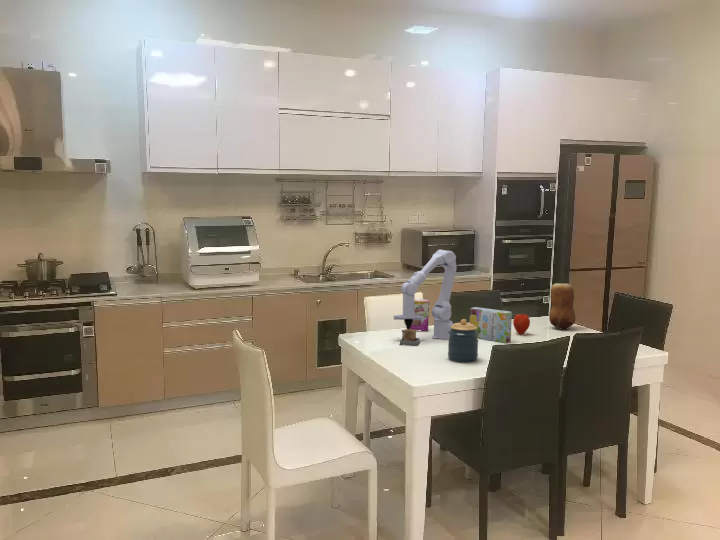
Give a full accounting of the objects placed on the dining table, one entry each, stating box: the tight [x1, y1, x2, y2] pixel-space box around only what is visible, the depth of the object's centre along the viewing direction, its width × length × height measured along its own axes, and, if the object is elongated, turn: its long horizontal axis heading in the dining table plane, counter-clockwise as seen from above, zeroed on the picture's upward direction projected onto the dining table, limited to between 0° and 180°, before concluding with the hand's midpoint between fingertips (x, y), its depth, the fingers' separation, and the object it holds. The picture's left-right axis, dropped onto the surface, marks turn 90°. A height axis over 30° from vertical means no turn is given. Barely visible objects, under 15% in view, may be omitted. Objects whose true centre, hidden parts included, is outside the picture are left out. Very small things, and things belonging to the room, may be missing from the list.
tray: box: [399, 337, 421, 347], centre depth 295 cm, size 8×8×2 cm
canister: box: [447, 318, 479, 363], centre depth 266 cm, size 13×13×18 cm
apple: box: [512, 313, 531, 335], centre depth 317 cm, size 9×8×11 cm
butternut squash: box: [548, 282, 576, 330], centre depth 331 cm, size 14×13×25 cm
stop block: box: [403, 328, 417, 341], centre depth 295 cm, size 5×4×6 cm
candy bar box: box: [410, 298, 430, 332], centre depth 325 cm, size 11×5×16 cm, turn 84°
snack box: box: [469, 306, 513, 344], centre depth 305 cm, size 21×6×15 cm, turn 47°
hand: (408, 334), depth 301 cm, fingers closed, pressing on crank lever
